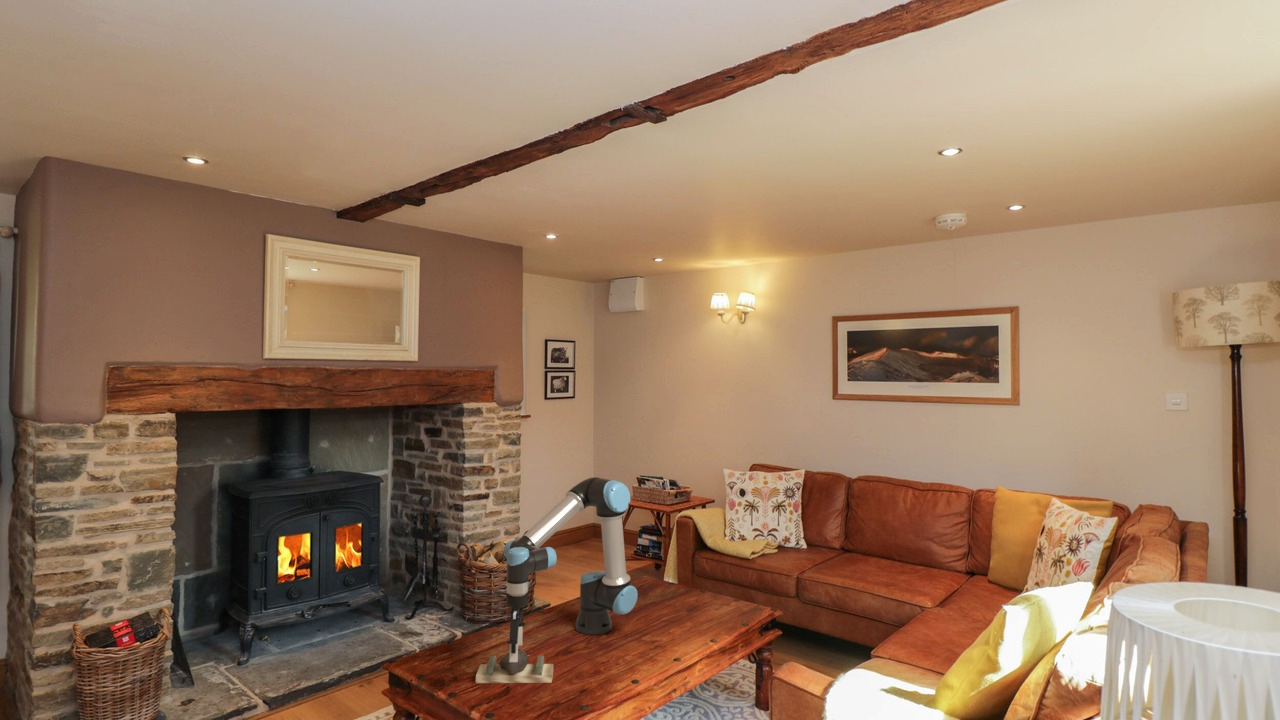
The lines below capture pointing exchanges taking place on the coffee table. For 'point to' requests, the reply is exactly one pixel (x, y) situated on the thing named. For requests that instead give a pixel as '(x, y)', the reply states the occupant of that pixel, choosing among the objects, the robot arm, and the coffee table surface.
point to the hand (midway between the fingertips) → (516, 653)
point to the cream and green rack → (528, 675)
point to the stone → (515, 666)
